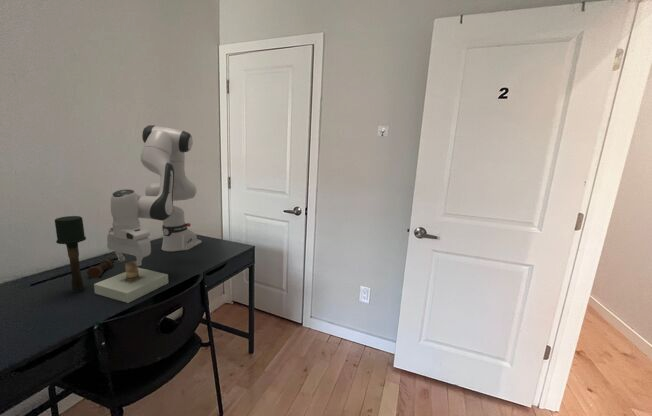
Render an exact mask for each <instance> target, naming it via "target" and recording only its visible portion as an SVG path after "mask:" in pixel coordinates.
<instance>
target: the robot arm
mask: <svg viewBox="0 0 652 416" xmlns="http://www.w3.org/2000/svg"><path fill="white" fill-rule="evenodd" d="M141 136H142V141H143V148H142V151H141V153H140V161H141V162H140V163H141V165H143V167H145V168H146V169H147V170H148V171H150V172H152V173H154V174H156V175H158V176H159V177H160V181H156V182H152V183H149V184H148V185H146V187H145V191H144V192H145V195H144V194H143V195H142V194H138V193H137V192H135V190H134V189H120V190H116V191H115V192H112V193H111V198H110V213H111V214H110V215H111V217H112V227H110V228H109V229H108V233H107V237H106V241H107V242H106V244H107V248H108V250H110V251H114V253H115V255H116V256H117V258H118V259H117V261H119V262H120V263H121V262H124V261H126V256H124V254H125V255H129V256H130V255H131V256H133V257H135V258H136V260H134V261H135V265H136V266H138V267H139V266H142V261H143V258H147V257H148V256H150V254H151V253H152V246H151V239H150V238H149V237H150V235H151V232H150V231H149V230H148V229H146V228H145V227H143V226H142V225H141V224H140V223H141V222H140V220H139V219H140V218H141V219H148V220H149V219H151V220H156V221H162V227H161V228H162V233H163V236H162V243H161V250H162V251H164V252H179V251H188V250H191V249H192V248H194V247H196V246H198V245H200V244H202V240H201V239H198V236H197V233H196V232H194V231H193V230H191V229H189V228H188V227H191V223H190V222H187V223H186V222H185V211H184V210H183V209H182V208H181V207H179V206H176V205H174V202H175V201H176V202H177V201H186V200H190V199H191V200H192V199H194V198H195V197H196V195H197V187H196V185H195V183H193V182H192V181H190V179H188V178H187V175H186V172H185V159H186V158H185V157H186V156H185V155H186V154H185V153H188V152H190V151H191V149H192V147H193V141H194V140H193V137H192V135H191V133H189V132H188V131H185V130H179V129H177V128H173V127H167V126H166V127H165V126H159V125H158V126H156V125H153V124H152V125H149V124H148V125H147V126H145V127H144V128H143V131H142V135H141Z"/></svg>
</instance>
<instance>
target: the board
mask: <svg viewBox="0 0 652 416" xmlns="http://www.w3.org/2000/svg"><path fill="white" fill-rule="evenodd" d="M138 274H139V276H138V277H137V279H138V280H135V281H133V282H129V281H128V279H127V278H126V271H125V272H122V273H119V274H116V275H114V276H112V277H109V278H106V279H104V280H101V281H98V282H96V283H94V284H93V288H94V294H95V295H99V296H103V297H106V298H109V299H112V300H115V301H120V302H123V303H126V304H129V303H131V302H133V301H135V300H137V299H139V298H142V297H144V296H145V295H147V294H149V293H151V292H153V291H155V290H157V289H159V288H161V287H163V286H166V285H167V284H169V274H168V273H163V272H160V271H155V270H151V269H146V268H141V267H138Z"/></svg>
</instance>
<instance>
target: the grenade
mask: <svg viewBox="0 0 652 416" xmlns="http://www.w3.org/2000/svg"><path fill="white" fill-rule="evenodd" d="M54 225H55V233H56V240H55V243H56V244H59V245H66V249H67V250H66V251H67V257H68V259H69V264H70V265H69V266H70V272H71V273H70V274H71V290H72V292H73V293H80V292H82V291H84V289H85V286H84V281H83V277H82V273H81V266H80V257H79V256H80V252H79V243H80V242H83V241H86V240H87V236H85V235H86V234H85V228H84V221H83V217H82V216H79V215H70V216H69V215H67V216H61V217H57V218H55V219H54Z"/></svg>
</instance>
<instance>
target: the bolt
mask: <svg viewBox="0 0 652 416" xmlns="http://www.w3.org/2000/svg"><path fill="white" fill-rule="evenodd" d="M114 263H115V260H114V259H113V258H107V259H103V260H101V261H100V263H99V264H98V265H95V266H89V267H88V269H87V272H86V275H87V276H88V277H89V278H90V279H97V278H101V276H102V274H103V273H104V271H105V270H110V269H111V267H112V266H113V265H114Z"/></svg>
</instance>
